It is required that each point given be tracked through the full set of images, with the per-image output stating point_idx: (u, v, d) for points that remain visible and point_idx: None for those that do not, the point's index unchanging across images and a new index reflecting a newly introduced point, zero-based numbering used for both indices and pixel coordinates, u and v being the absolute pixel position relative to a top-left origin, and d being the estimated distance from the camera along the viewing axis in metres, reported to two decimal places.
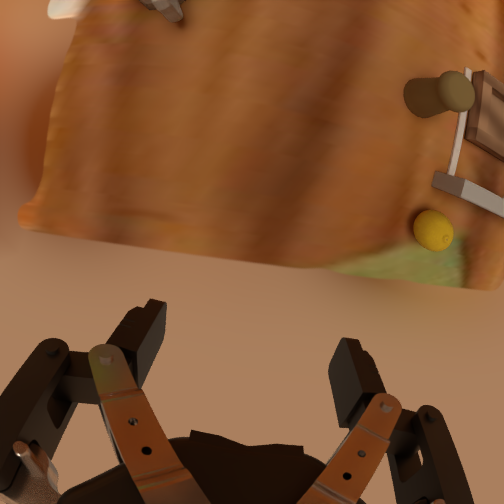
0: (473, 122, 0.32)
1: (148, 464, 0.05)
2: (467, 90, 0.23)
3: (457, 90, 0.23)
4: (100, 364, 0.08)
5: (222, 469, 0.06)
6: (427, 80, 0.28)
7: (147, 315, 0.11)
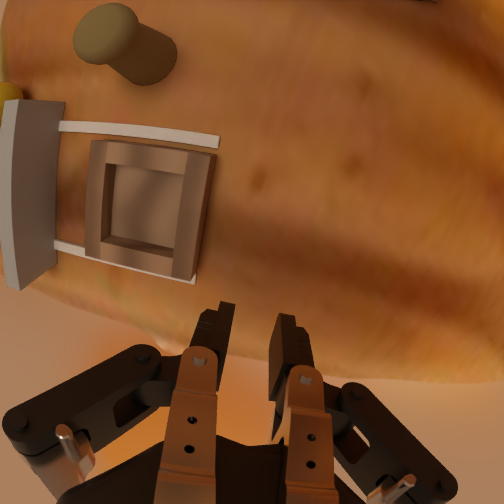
0: (121, 142, 0.25)
1: (183, 461, 0.05)
2: (95, 33, 0.14)
3: (92, 17, 0.14)
4: (197, 366, 0.09)
5: (222, 469, 0.06)
6: (146, 26, 0.19)
7: (224, 317, 0.12)
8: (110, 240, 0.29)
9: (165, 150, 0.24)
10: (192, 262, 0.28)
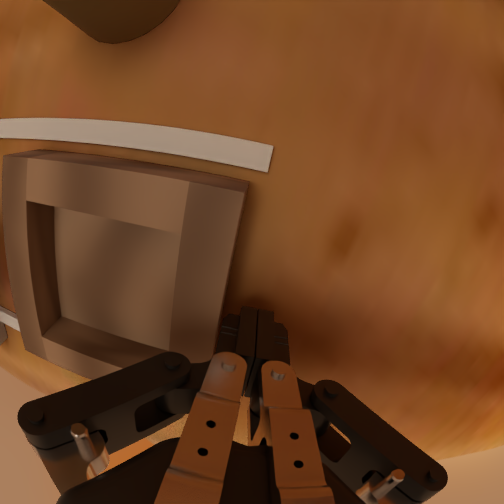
0: (56, 155, 0.11)
1: (193, 462, 0.05)
2: None
3: None
4: (228, 373, 0.09)
5: None
6: None
7: (248, 322, 0.12)
8: (58, 332, 0.15)
9: (136, 175, 0.10)
10: None
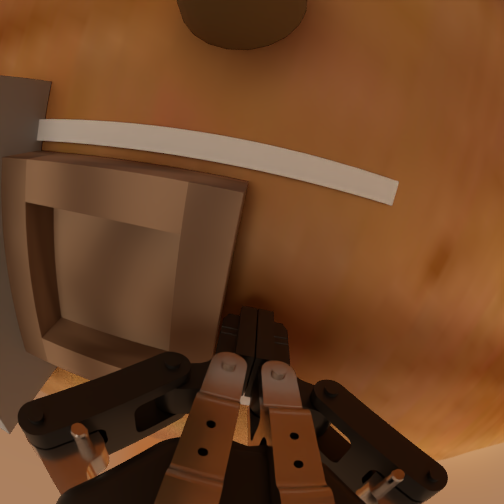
0: (55, 156, 0.11)
1: (194, 462, 0.05)
2: None
3: None
4: (228, 373, 0.09)
5: None
6: None
7: (248, 322, 0.12)
8: (58, 333, 0.15)
9: (135, 176, 0.10)
10: None
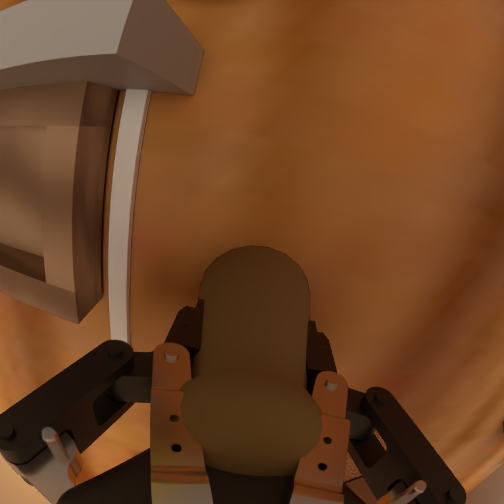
0: (92, 143, 0.12)
1: (172, 460, 0.05)
2: None
3: None
4: (168, 363, 0.09)
5: None
6: None
7: (201, 314, 0.12)
8: None
9: (70, 254, 0.12)
10: None
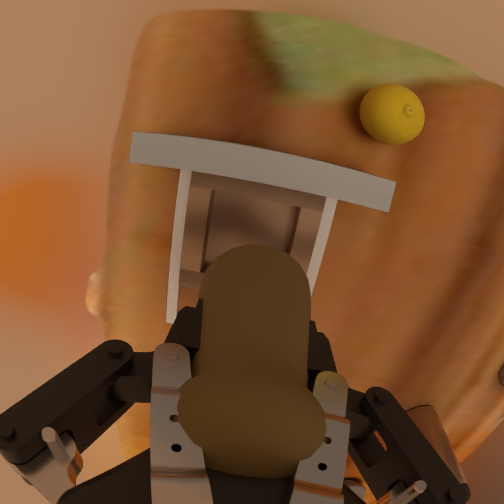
0: None
1: (172, 460, 0.05)
2: None
3: None
4: (168, 363, 0.09)
5: None
6: None
7: (201, 314, 0.12)
8: (212, 196, 0.27)
9: (305, 272, 0.28)
10: (197, 289, 0.29)
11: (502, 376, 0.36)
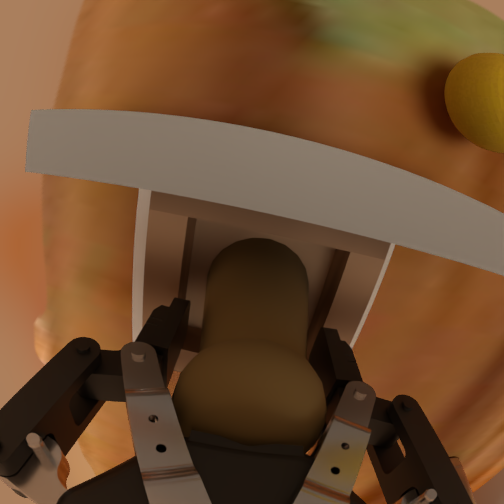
0: None
1: (159, 461, 0.05)
2: None
3: None
4: (134, 362, 0.08)
5: (222, 469, 0.06)
6: None
7: (174, 313, 0.12)
8: (190, 226, 0.15)
9: None
10: None
11: None
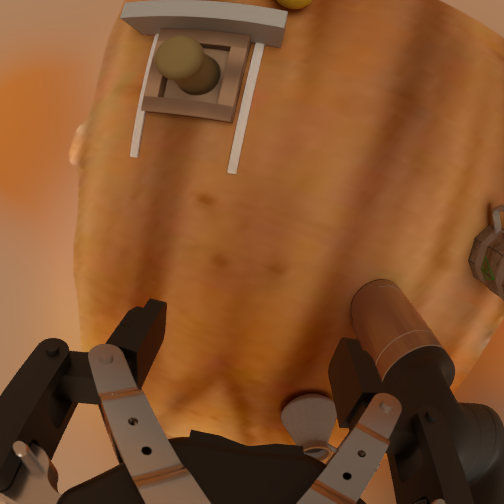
0: (246, 56, 0.32)
1: (148, 464, 0.05)
2: (168, 55, 0.24)
3: (184, 49, 0.24)
4: (100, 364, 0.08)
5: (222, 469, 0.06)
6: (203, 77, 0.30)
7: (147, 315, 0.11)
8: None
9: (235, 90, 0.33)
10: (154, 111, 0.34)
11: (473, 261, 0.41)
